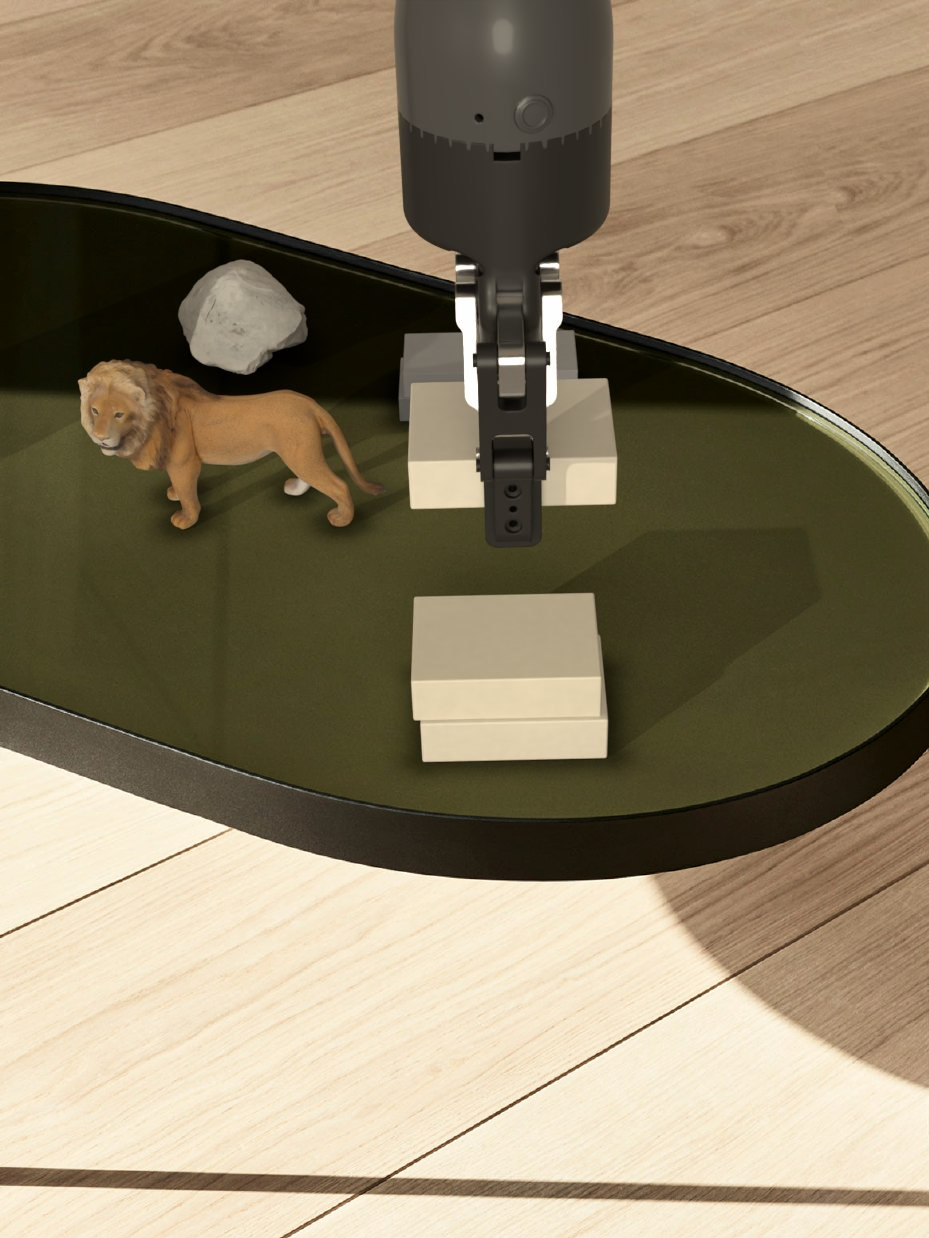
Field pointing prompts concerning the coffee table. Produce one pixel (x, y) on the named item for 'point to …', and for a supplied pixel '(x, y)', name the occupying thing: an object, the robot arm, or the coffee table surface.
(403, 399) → the grey block
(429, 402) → the cream flat block
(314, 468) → the lion figurine
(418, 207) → the robot arm
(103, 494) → the coffee table surface
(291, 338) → the grey stone
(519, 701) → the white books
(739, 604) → the coffee table surface
